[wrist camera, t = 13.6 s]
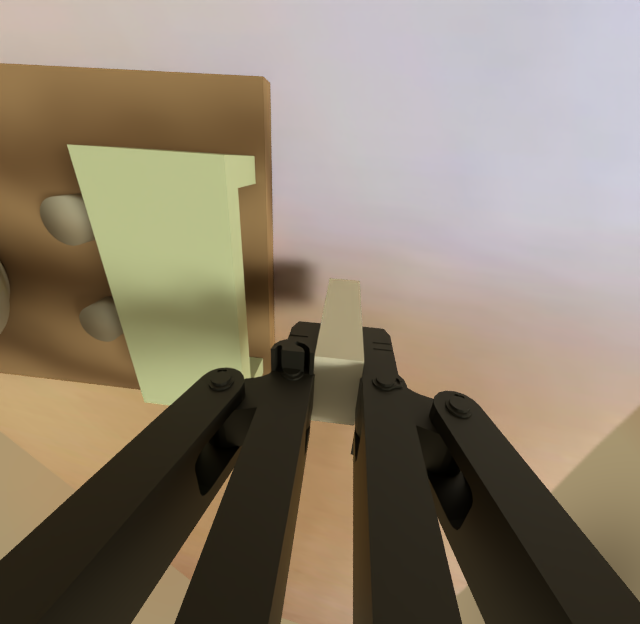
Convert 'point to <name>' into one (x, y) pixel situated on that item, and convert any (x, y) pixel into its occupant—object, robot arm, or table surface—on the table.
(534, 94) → the table surface
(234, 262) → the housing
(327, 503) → the table surface
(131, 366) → the board
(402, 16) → the table surface
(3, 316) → the teacup
